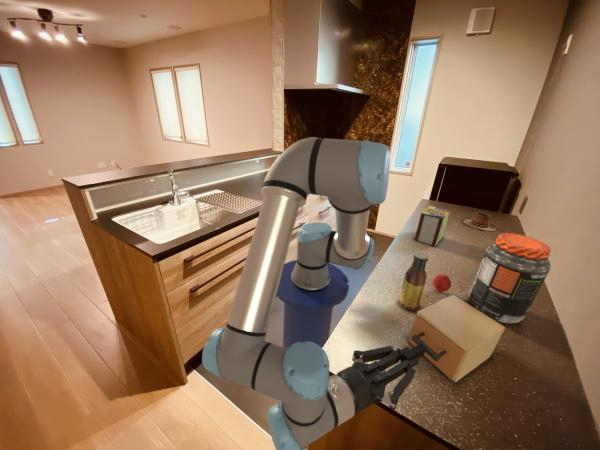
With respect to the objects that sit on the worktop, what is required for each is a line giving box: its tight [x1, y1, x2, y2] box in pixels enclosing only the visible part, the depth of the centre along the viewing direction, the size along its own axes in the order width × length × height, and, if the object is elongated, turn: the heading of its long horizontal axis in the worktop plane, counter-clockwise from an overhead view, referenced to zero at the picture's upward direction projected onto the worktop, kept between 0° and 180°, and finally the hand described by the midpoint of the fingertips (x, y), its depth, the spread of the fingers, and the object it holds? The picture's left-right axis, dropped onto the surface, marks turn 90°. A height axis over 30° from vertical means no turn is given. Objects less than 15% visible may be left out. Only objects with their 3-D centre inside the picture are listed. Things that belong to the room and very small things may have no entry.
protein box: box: [414, 205, 451, 247], centre depth 129 cm, size 10×15×16 cm
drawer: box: [407, 315, 466, 381], centre depth 65 cm, size 19×13×9 cm, turn 118°
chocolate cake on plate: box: [462, 212, 497, 232], centre depth 152 cm, size 18×18×7 cm
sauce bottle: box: [399, 251, 429, 311], centre depth 80 cm, size 7×6×20 cm
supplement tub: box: [468, 232, 552, 324], centre depth 79 cm, size 16×16×26 cm
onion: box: [432, 273, 452, 293], centre depth 90 cm, size 6×6×8 cm
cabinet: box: [415, 294, 506, 383], centre depth 67 cm, size 16×14×11 cm
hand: (422, 349), depth 60 cm, fingers closed
